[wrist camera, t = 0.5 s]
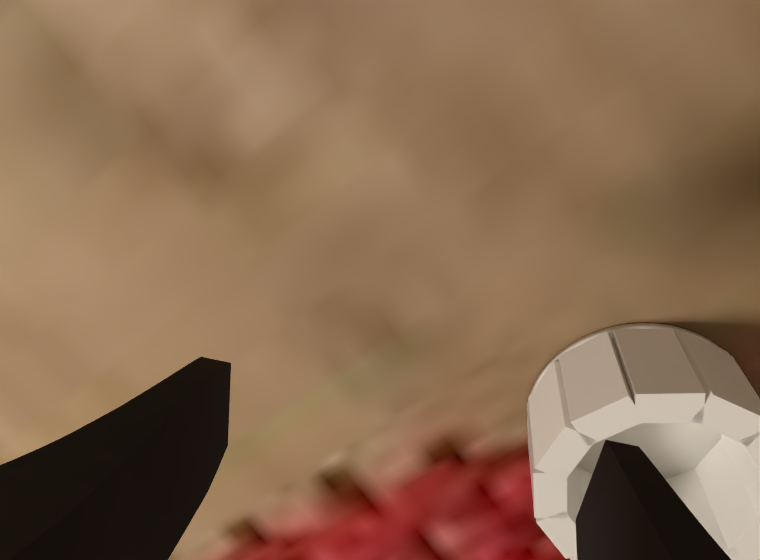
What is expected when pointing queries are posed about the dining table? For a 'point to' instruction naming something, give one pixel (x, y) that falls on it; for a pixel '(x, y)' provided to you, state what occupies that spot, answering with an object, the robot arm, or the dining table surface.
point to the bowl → (648, 428)
